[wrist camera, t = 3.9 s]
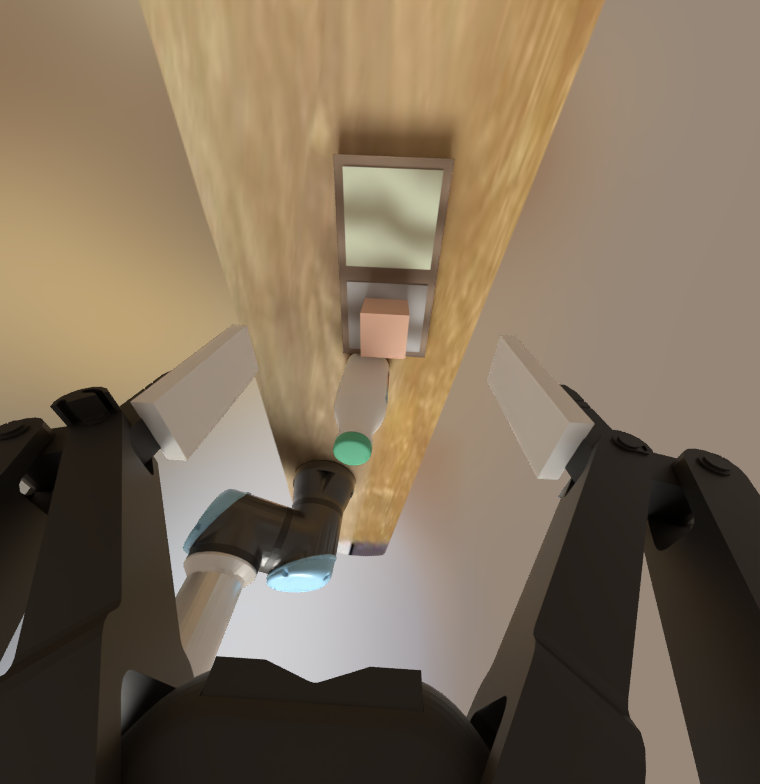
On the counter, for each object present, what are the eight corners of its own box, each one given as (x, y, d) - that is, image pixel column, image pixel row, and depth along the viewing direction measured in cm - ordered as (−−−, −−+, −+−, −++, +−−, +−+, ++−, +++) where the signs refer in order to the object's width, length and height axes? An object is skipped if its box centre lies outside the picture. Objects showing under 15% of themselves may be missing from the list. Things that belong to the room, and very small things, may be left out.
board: (423, 348, 45) (424, 358, 43) (346, 344, 45) (343, 353, 43) (449, 161, 31) (454, 158, 28) (338, 157, 31) (332, 153, 29)
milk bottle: (337, 362, 48) (305, 447, 32) (372, 339, 45) (356, 420, 28) (364, 391, 51) (347, 481, 35) (398, 372, 48) (397, 461, 32)
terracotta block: (404, 339, 41) (405, 359, 36) (364, 337, 41) (360, 356, 36) (407, 300, 37) (409, 315, 32) (364, 298, 37) (360, 312, 33)
